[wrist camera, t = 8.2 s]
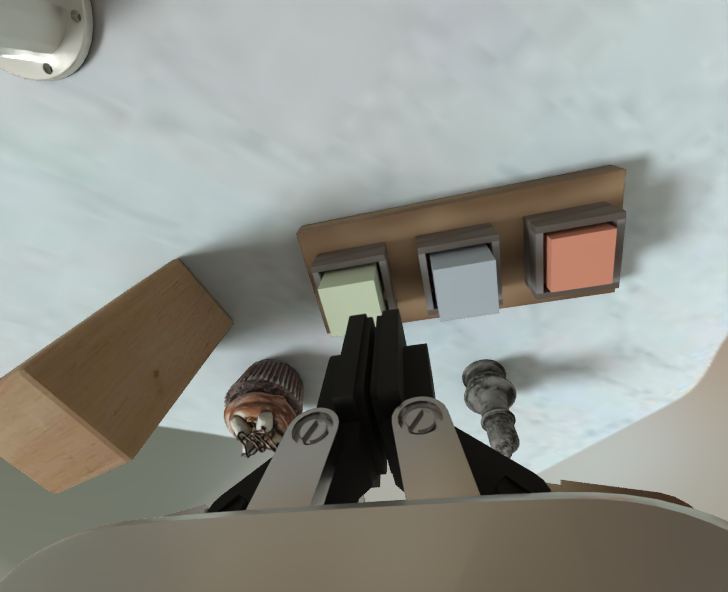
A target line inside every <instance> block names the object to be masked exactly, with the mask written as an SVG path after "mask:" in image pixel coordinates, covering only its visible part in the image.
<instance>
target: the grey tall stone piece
mask: <svg viewBox="0 0 728 592" xmlns="http://www.w3.org/2000/svg"><path fill="white" fill-rule="evenodd" d="M462 380H463V383H464V385H465V387H466V391H465V394H464V400H465V403H466V405H467V406H468V408H469V409H470V410H472V411H473V412H475V413H478V414H481V415H482V418H481V426H482V428H483V429H484V430H485V431H487V435H488V438H489V442H490V445H491V447H492V449H494V450H496V451H498V452H499V453H501V454H503V455H505V456H506V457H508V458H510V457H511V456H512V453H514V452H515V451H516V450H517V449H518V447H519V438H518V435H517V432H516V430H515V427H514V424H515V416H514V414H513V413H512V412H510V411H509V408H510V407H511V406H512V405H513V403H514V402H515V399H516V390H515V387H514V386H513V384H512V383H511V382H509V381H508V380H507V379H506V372H505V370H504V368H503V367H502V365H501V364H499V363H498V362H495V361H492V360H479V361H476V362H473V363H472V364H470V365H469V366H468V367H467V368H466V369H465V370H464V372H463V375H462Z"/></svg>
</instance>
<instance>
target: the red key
mask: <svg viewBox="0 0 728 592" xmlns="http://www.w3.org/2000/svg"><path fill="white" fill-rule="evenodd" d="M616 235H617V228H615V227H614V226H612V225H610V224H608V223H607V222H604V223H598V224H592V225H586V226H581V227H575V228H569V229H563V230H558V231H552V232H546V233H543V283H544V284H545V285H546V287H547V288H548V289H549V290H550V292H558V291H565V290H572V289H578V288H585V287H592V286H599V285H605V284H612V281H613V269H614V258H615V246H616Z"/></svg>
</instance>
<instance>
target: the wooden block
mask: <svg viewBox="0 0 728 592" xmlns="http://www.w3.org/2000/svg"><path fill="white" fill-rule="evenodd" d="M232 324H233V322H232V320H231V319H230V318H229V316H228V315H227V314H226V313H225V312H224V311H223V310H222V308H221V307H220V306H219V305H218V304H217V303H216V301H215V300H214V299H213V298H212V297H211V296H210V294H209V293H208V292H207V291H206V290H205V289H204V287H203V286H202V285H201V284H200V283H199V282H198V281H197V279H196V278H195V277H194V276H193V275H192V274H191V272H190V271H189V270H188V269H187V268H186V267H185V265H184V264H183V263H182V262H181V261H180V260H179V259H175V260H172V261H171V262H169V263H168V264H166V265H165V266H163V267H162V268H160V269H159V270H157V271H156V272H154V273H153V274H151V275H150V276H148V277H147V278H145V279H144V280H142V281H141V282H139V283H138V284H136V285H135V286H133V287H132V288H130V289H129V290H127V291H126V292H124V293H123V294H121V295H120V296H118V297H117V298H115V299H114V300H112V301H111V302H110V303H108V304H107V305H105V306H104V307H102V308H101V309H99V310H98V311H97V312H95V313H94V314H92V315H91V316H89V317H88V318H87V319H85V320H84V321H82V322H81V323H79V324H78V325H76V326H75V327H74V328H72V329H71V330H69V331H68V332H66V333H65V334H64V335H62V336H61V337H59V338H58V339H56V340H55V341H53V342H52V343H51V344H49V345H48V346H46V347H45V348H43V349H42V350H41V351H39V352H38V353H36V354H35V355H33V356H32V357H30V358H29V359H28V360H26V361H25V362H23V363H22V364H20V365H19V366H17V367H16V368H15V369H13V370H12V371H10V372H9V373H7V374H6V375H5V376H3V377H2V378H0V456H1V457H2V458H3V459H5V460H6V461H8V462H9V463H10V464H12V465H13V466H14V467H16V468H17V469H19V470H20V471H22V472H23V473H24V474H26V475H27V476H29V477H30V478H32V479H33V480H34V481H36V482H37V483H38V484H40V485H41V486H43V487H44V488H46V489H47V490H48V491H50V492H51V493H55V494H58V493H60V492H62V491H65V490H67V489H69V488H71V487H73V486H76V485H77V484H80V483H82V482H84V481H87V480H89V479H91V478H93V477H95V476H98V475H100V474H102V473H104V472H106V471H109V470H111V469H113V468H115V467H117V466H120V465H122V464H124V463H126V462H129V461H130V460H132V459H133V458H134V457H135V456H136V454H137V453H138V452H139V450H140V449H141V448H142V446H143V445H144V443H145V442H146V441H147V439H148V438H149V437H150V435H151V434H152V433H153V431H154V430H155V429H156V427H157V426H158V425H159V423H160V422H161V421H162V419H163V418H164V416H165V415H166V414H167V412H168V411H169V410H170V408H171V407H172V406H173V404H174V403H175V402H176V400H177V399H178V398H179V396H180V395H181V394H182V392H183V391H184V389H185V388H186V387H187V385H188V384H189V383H190V381H191V380H192V379H193V377H194V376H195V375H196V373H197V372H198V371H199V369H200V368H201V366H202V365H203V364H204V362H205V361H206V360H207V358H208V357H209V356H210V354H211V353H212V352H213V350H214V349H215V348H216V346H217V345H218V344H219V342H220V341H221V339H222V338H223V337H224V335H225V334H226V333H227V331H228V330H229V329H230V327H231V326H232Z"/></svg>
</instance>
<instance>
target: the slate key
mask: <svg viewBox="0 0 728 592" xmlns="http://www.w3.org/2000/svg"><path fill="white" fill-rule="evenodd" d="M429 254H430V261H431V268H432V275H433V281H434V288H435V295H436V301H437V306H438V311H439V316H440V321H448V320H455V319H462V318H469V317H476V316H483V315H490V314H497V313H499V302H498V287H497V271H496V259H495V258H494V256H493V255H492V253H491V252H490V250H489V248H488V247H487V245H486V244H485V243H484V244H478V245H472V246H466V247H461V248H455V249H449V250H443V251H438V252H432V253H429Z"/></svg>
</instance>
